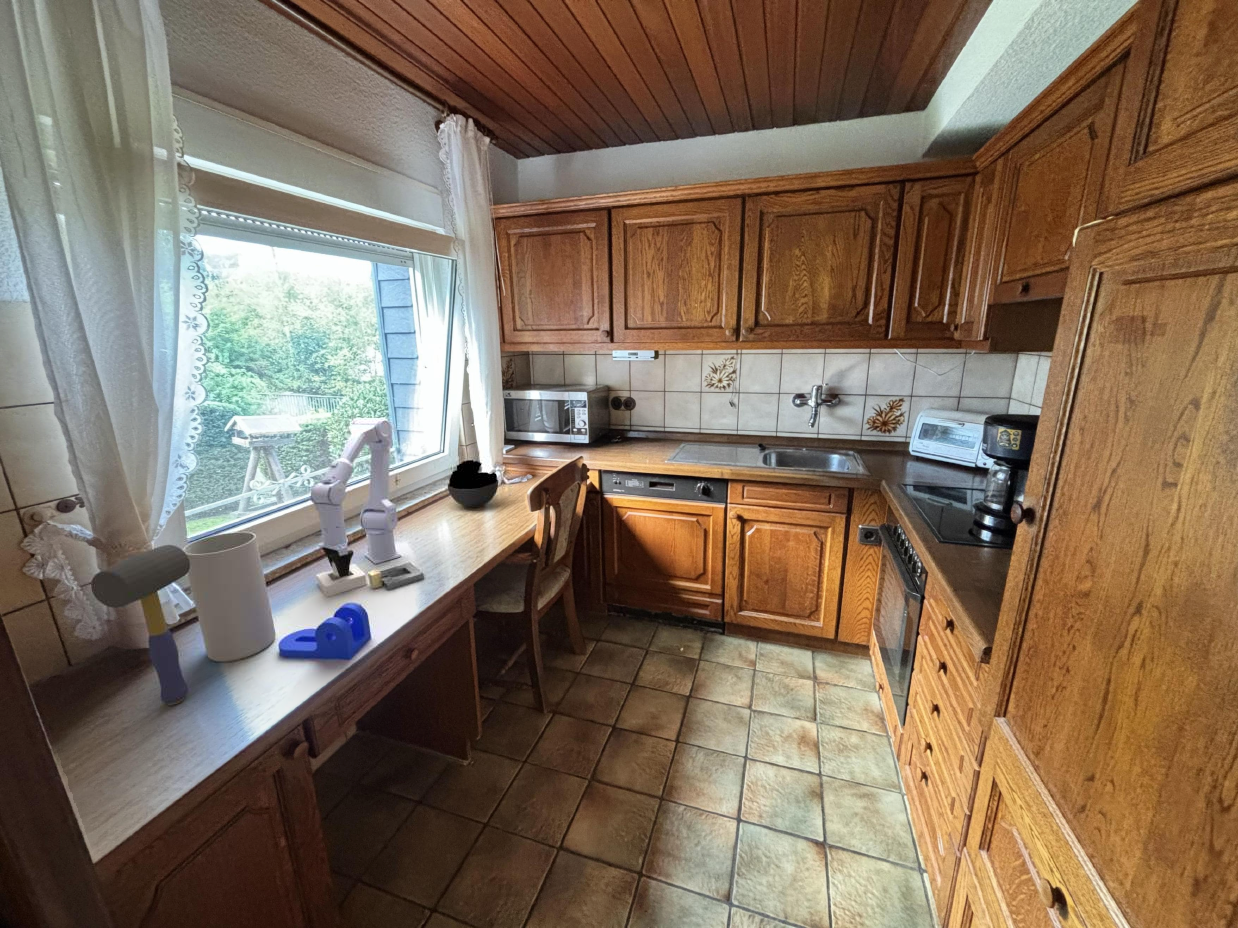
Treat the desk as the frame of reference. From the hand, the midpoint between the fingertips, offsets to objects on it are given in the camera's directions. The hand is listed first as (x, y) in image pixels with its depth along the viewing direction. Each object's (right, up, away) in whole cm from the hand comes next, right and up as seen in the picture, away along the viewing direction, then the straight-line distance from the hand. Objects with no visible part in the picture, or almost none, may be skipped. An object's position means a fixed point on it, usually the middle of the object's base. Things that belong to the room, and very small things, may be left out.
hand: (340, 571), depth 142 cm
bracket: (+12, -11, -28) cm, 33 cm away
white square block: (0, -4, +1) cm, 4 cm away
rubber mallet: (-7, -15, -45) cm, 48 cm away
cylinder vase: (-7, -11, -28) cm, 31 cm away
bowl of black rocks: (+19, +13, +67) cm, 71 cm away
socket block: (+15, -3, +4) cm, 16 cm away
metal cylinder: (0, -4, +1) cm, 4 cm away
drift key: (+11, -4, 0) cm, 12 cm away
